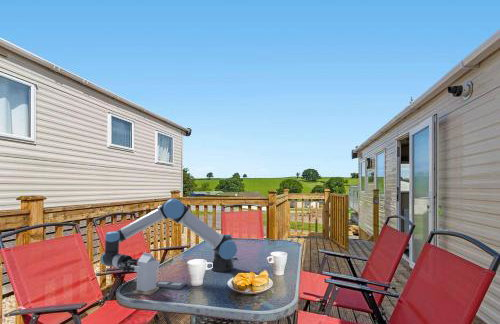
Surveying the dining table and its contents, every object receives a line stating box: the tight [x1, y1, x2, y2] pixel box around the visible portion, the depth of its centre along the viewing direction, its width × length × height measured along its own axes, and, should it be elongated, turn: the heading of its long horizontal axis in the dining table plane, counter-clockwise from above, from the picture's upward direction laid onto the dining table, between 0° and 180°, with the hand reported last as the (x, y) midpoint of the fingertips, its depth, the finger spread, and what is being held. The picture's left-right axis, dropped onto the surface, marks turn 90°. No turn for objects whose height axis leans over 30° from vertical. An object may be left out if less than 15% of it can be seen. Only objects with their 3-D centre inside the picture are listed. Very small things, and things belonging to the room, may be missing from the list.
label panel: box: [156, 280, 187, 290], centre depth 174 cm, size 16×9×1 cm, turn 81°
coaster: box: [132, 287, 160, 296], centre depth 166 cm, size 10×10×1 cm
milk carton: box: [136, 251, 158, 292], centre depth 166 cm, size 7×7×19 cm
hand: (149, 266), depth 165 cm, fingers open, 13 cm apart
